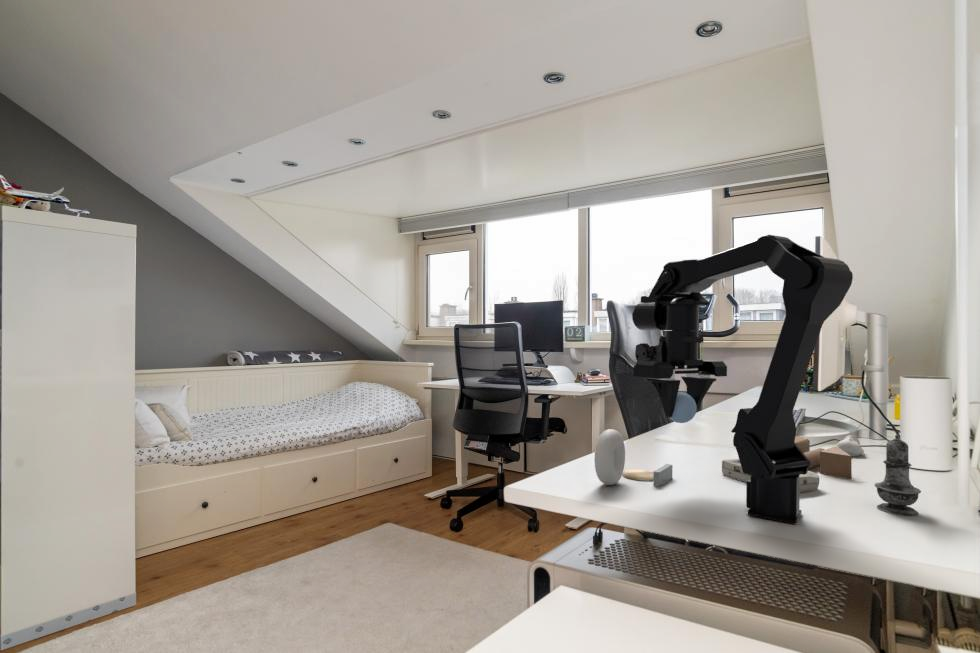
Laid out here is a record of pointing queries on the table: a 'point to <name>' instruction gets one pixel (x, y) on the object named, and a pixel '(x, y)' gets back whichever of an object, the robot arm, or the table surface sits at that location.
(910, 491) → the grey stone finial
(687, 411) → the ball
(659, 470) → the gray rectangular bar
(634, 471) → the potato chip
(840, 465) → the wooden block set
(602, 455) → the white plump rounded part
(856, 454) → the pale two-lobed sculpture
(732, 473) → the handheld gaming console
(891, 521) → the table surface
